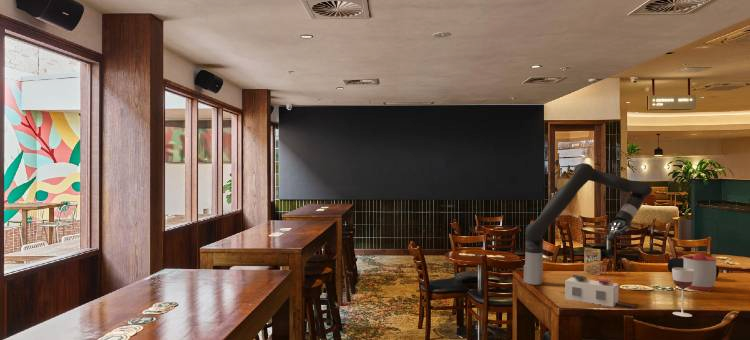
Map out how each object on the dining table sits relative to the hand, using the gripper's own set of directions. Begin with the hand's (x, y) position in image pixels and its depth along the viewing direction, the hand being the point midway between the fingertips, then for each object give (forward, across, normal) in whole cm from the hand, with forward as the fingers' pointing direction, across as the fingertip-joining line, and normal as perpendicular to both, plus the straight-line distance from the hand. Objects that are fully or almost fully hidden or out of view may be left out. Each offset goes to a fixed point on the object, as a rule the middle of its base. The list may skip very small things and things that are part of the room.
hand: (609, 239), depth 270 cm
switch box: (+34, +15, +2) cm, 37 cm away
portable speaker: (-34, -8, +82) cm, 89 cm away
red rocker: (+26, +16, -4) cm, 31 cm away
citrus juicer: (-16, +14, +59) cm, 63 cm away
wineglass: (+21, +44, +14) cm, 51 cm away
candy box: (+2, -36, +44) cm, 57 cm away
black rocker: (+30, +6, -7) cm, 32 cm away
